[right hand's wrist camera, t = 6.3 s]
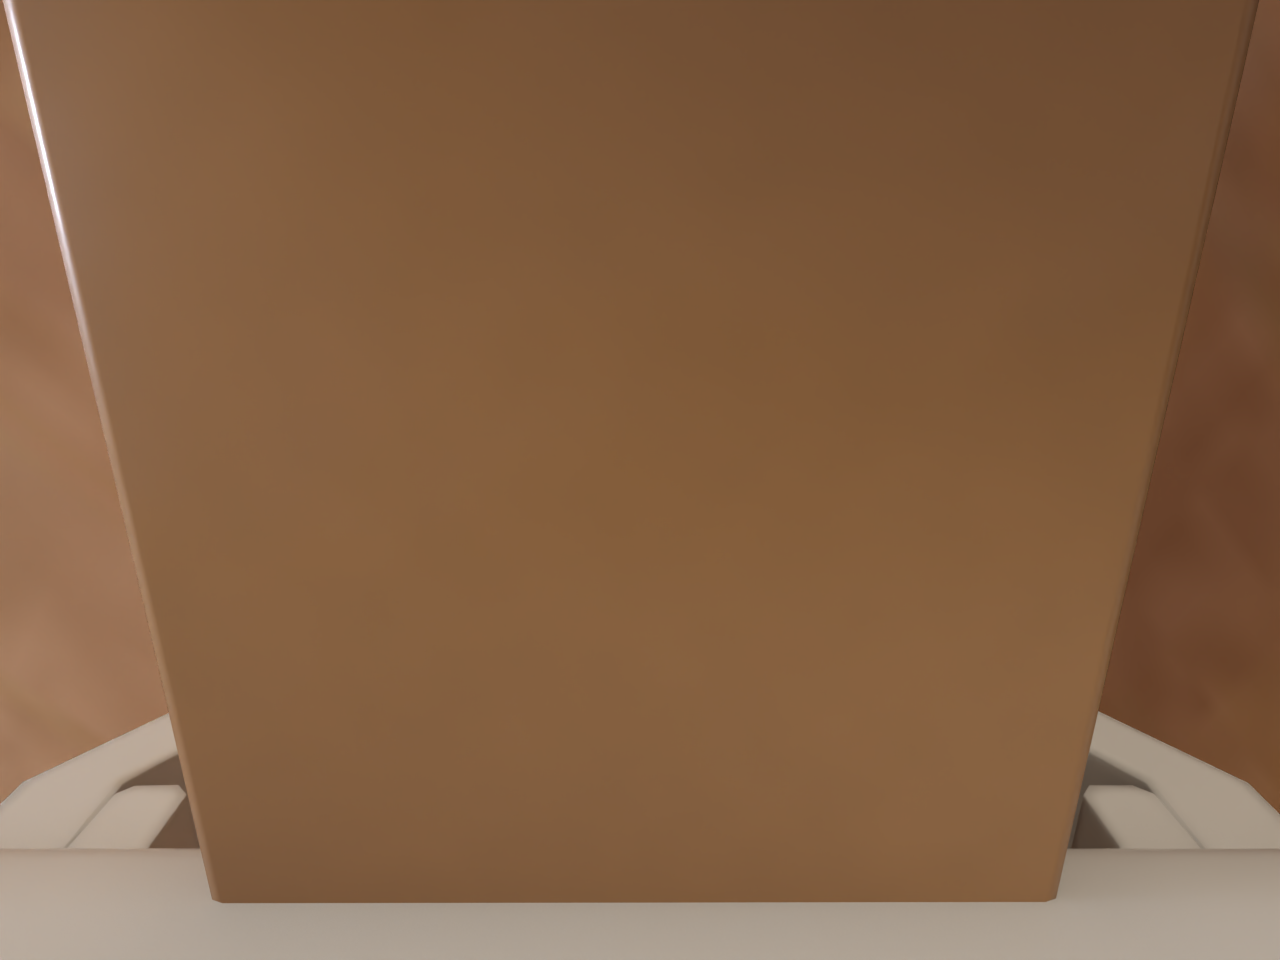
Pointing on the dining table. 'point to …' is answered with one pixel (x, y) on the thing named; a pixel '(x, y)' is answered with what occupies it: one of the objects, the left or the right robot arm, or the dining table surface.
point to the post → (632, 421)
